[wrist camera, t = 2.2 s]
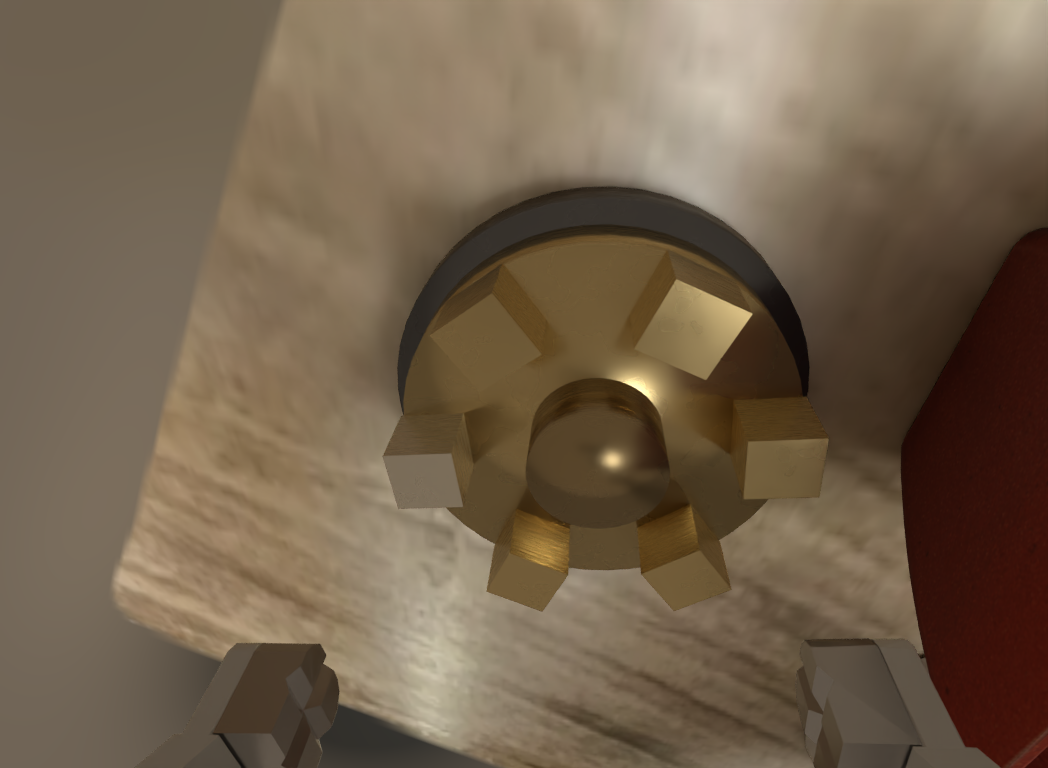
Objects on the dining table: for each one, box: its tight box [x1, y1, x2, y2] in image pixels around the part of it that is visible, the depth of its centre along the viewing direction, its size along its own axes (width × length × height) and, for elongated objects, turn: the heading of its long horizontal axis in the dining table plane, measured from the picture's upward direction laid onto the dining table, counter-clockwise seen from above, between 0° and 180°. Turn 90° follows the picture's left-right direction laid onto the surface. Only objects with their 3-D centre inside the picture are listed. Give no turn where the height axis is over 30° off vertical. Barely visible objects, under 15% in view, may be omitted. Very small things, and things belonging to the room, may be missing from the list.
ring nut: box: [383, 224, 829, 611], centre depth 28 cm, size 18×18×6 cm
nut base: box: [398, 187, 809, 415], centre depth 31 cm, size 20×20×2 cm
